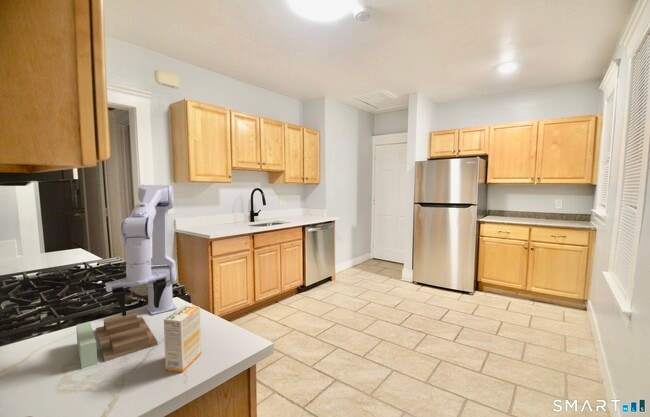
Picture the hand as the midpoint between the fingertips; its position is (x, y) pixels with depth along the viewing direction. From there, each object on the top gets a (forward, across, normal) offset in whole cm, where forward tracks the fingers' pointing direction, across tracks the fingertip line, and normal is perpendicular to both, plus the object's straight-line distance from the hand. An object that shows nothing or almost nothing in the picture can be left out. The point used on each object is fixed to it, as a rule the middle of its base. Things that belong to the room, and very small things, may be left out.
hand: (140, 310), depth 81 cm
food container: (+10, +10, +36) cm, 39 cm away
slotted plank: (+10, -2, +8) cm, 13 cm away
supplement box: (+10, +6, -15) cm, 19 cm away
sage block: (+10, -12, +5) cm, 16 cm away
